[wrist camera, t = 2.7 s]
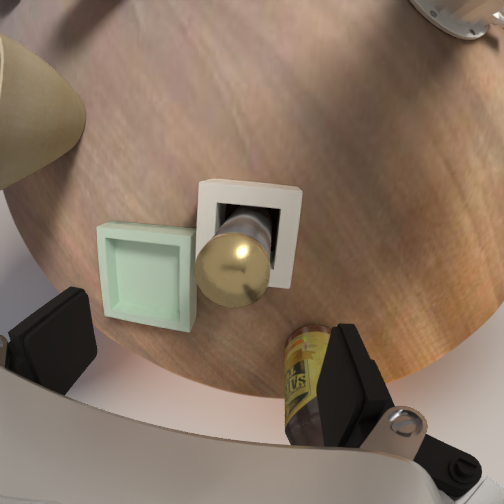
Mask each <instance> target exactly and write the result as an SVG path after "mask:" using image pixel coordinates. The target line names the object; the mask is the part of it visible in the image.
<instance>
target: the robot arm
mask: <svg viewBox="0 0 504 504" xmlns="http://www.w3.org/2000/svg"><path fill="white" fill-rule="evenodd" d="M410 2H411V3H412V4H413V5H414V7H415V8H416V9H417V10H418V11H419V12H420V13H421V14H422V15H423V16H424V17H425V18H426V19H427V20H429V21H430V22H431V23H432V24H434V25H435V26H436V27H438V28H439V29H441V30H442V31H444V32H446V33H448V34H450V35H452V36H454V37H457V38H459V39H464V40H474V39H477V38H479V37H481V36H483V35H484V34H485V33H486V31H487V29H488V24H490V23H491V24H493V25H499V26H500V27H501V28H502V29H504V17H503V16H502V15H501V13H502V14H504V0H410ZM8 334H9V337H10V340H11V341H10V342H9V343H8V342H7V339H6V338H5V337H4V336H2V335H0V504H504V489H503V488H502V487H500V486H499V485H498V484H497V483H495V482H494V481H493V480H492V479H490V478H489V477H487V478H486V479H484V478H482V477H481V475H482V469H481V465H480V463H479V461H478V460H477V459H476V458H475V457H473V456H472V455H470V454H468V453H465V452H463V451H461V450H459V449H457V448H455V447H452V446H450V445H448V444H446V443H444V442H442V441H440V440H437V439H436V438H434V437H431V436H429V435H427V434H426V432H427V427H428V425H427V421H426V419H425V418H424V416H423V415H422V414H421V413H420V412H419V411H417V410H415V409H413V408H410V407H407V406H396V407H395V405H394V403H393V401H392V398H391V396H390V394H389V392H388V389H387V387H386V385H385V382H384V380H383V378H382V376H381V373H380V371H379V369H378V367H377V365H376V363H375V361H374V360H371V359H370V357H369V355H368V352H367V350H366V348H365V346H364V344H363V341H362V339H361V337H360V335H359V333H358V331H357V329H356V326H355V325H354V324H342V323H339V324H338V325H337V327H333V328H332V330H331V334H330V338H329V342H328V346H327V349H326V353H325V357H324V361H323V364H322V368H321V371H320V375H319V378H318V382H317V386H316V394H317V401H318V407H319V414H320V420H321V427H322V434H323V442H324V447H317V446H297V445H279V444H267V443H256V442H247V441H238V440H231V439H223V438H217V437H210V436H205V435H199V434H194V433H188V432H183V431H178V430H174V429H169V428H165V427H161V426H156V425H153V424H149V423H145V422H141V421H138V420H134V419H131V418H127V417H124V416H120V415H117V414H114V413H111V412H107V411H105V410H102V409H98V408H96V407H93V406H90V405H88V404H85V403H82V402H79V401H77V400H74V399H71V398H69V397H66V396H65V394H66V393H67V392H68V390H69V389H70V388H71V387H72V385H73V384H74V383H75V382H76V380H77V379H78V378H79V377H80V376H81V374H82V373H83V372H84V371H85V369H86V368H87V367H88V366H89V364H90V363H91V362H92V361H93V360H94V358H95V357H96V355H97V345H96V341H95V336H94V330H93V324H92V318H91V311H90V305H89V298H88V295H87V293H85V290H84V289H81V288H76V287H69V288H68V289H66V290H65V291H63V292H62V293H60V294H59V295H58V296H56V297H55V298H53V299H52V300H51V301H49V302H48V303H46V304H45V305H44V306H42V307H41V308H39V309H38V310H37V311H35V312H34V313H33V314H31V315H30V316H29V317H27V318H26V319H25V320H23V321H22V322H21V323H19V324H18V325H17V326H16V327H14V328H13V329H12V330H10V331H9V332H8Z"/></svg>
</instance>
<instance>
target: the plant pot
mask: <svg viewBox="0 0 504 504" xmlns="http://www.w3.org/2000/svg"><path fill="white" fill-rule="evenodd" d="M85 122H86V110H85V106H84V103H83V101H82V100H81V98H80V97H79V95H78V94H77V93H76V92H75V90H74V89H73V88H72V87H71V86H70V85H69V84H68V82H67V81H66V80H65V79H64V78H63V77H62V76H61V75H60V74H59V73H58V72H57V71H56V70H54V69H53V68H52V67H51V66H50V65H49V64H47V63H46V62H45V61H44V60H43V59H41V58H40V57H39V56H37V55H36V54H35V53H33V52H32V51H30V50H29V49H27V48H26V47H24V46H23V45H21V44H20V43H18V42H16V41H14V40H13V39H11V38H9V37H8V36H6V35H4V34H2V33H0V190H2V189H4V188H6V187H8V186H10V185H12V184H14V183H16V182H18V181H20V180H22V179H24V178H25V177H27V176H29V175H31V174H33V173H34V172H36V171H38V170H40V169H41V168H43V167H45V166H47V165H48V164H50V163H51V162H53V161H55V160H56V159H58V158H59V157H61V156H62V155H64V154H65V153H67V152H68V151H70V150H71V149H72V148H73V147H74V146H75V145H76V144H77V142H78V141H79V139H80V137H81V135H82V133H83V130H84V127H85Z"/></svg>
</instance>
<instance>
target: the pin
mask: <svg viewBox="0 0 504 504" xmlns="http://www.w3.org/2000/svg"><path fill="white" fill-rule="evenodd" d="M271 235H272V219H271V216H270V214H269V212H268V211H267V210H266V209H265V208H264V207H259V206H249V205H241V206H239V207H238V208H237V209H236V210H235V211H234V212H233V213H232V214H231V216H230V217H229V218H228V219H227V220H226V222H225V223H224V224H223V225H222V226H221V228H220V229H219V230H218V231H217V233H216V234H215V235H214V236H213V237H212V239H211V240H209V241H208V242H207V243H206V245H205V246H204V247H203V248H202V250H201V251H200V252H199V254H198V256H197V258H196V261H195V267H194V273H195V279H196V282H197V284H198V286H199V288H200V290H201V291H202V292H203V294H204V295H205V296H206V297H207V298H208V299H210V300H211V301H213V302H214V303H216V304H219V305H221V306H225V307H231V308H238V307H244V306H247V305H250V304H252V303H253V302H255V301H257V300H258V299H259V298H260V297H261V296H262V295H263V294H264V292H265V291H266V289H267V287H268V284H269V279H270V251H271Z"/></svg>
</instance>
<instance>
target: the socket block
mask: <svg viewBox="0 0 504 504" xmlns="http://www.w3.org/2000/svg"><path fill="white" fill-rule="evenodd" d="M302 195H303V192H302V191H301V189H300V188H299V187H296V186H288V185H279V184H270V183H260V182H250V181H239V180H227V179H214V178H212V179H208V180H205V181H201V182H199V194H198V211H197V231H196V257H195V261H196V258H197V256H198V254H199V252H200V251H201V250H202V248H203V247H204V246H205V245H206V243H207V242H208V241H209V240H211V239H212V237H213V236H214V235H215V234H216V233H217V231H218V230H219V229H220V228H221V226H222V225H223V224H224V223H225V214H226V203H228V204H239V205H249V206H259V207H268V208H277V209H279V216H278V224H277V233H276V242H275V250H274V252H271V251H270V279H269V284H268V287H278V288H287V289H290V284H291V277H292V270H293V263H294V256H295V249H296V242H297V234H298V227H299V219H300V211H301V203H302Z"/></svg>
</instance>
